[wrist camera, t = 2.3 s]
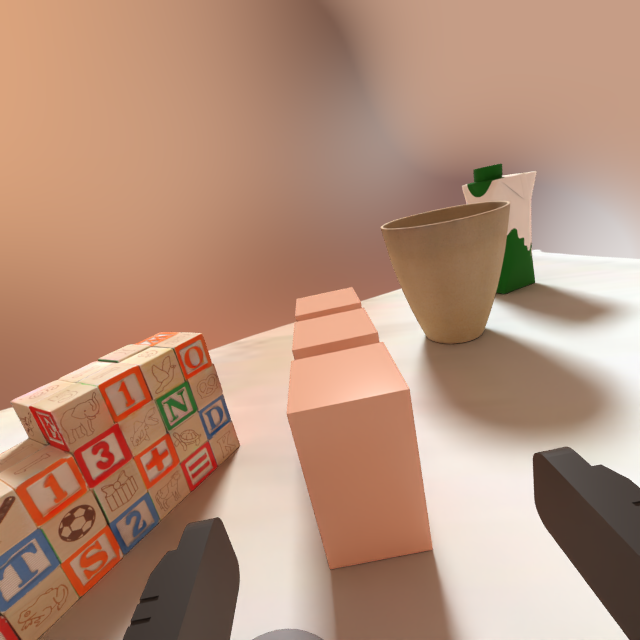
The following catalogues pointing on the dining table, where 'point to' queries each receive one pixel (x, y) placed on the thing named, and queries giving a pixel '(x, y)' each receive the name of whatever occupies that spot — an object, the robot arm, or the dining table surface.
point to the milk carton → (518, 241)
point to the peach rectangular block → (326, 304)
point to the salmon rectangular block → (333, 333)
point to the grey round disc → (288, 635)
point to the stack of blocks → (102, 470)
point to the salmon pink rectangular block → (359, 454)
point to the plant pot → (450, 266)
